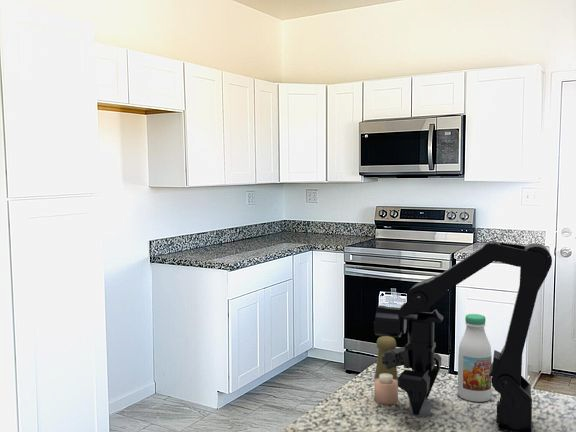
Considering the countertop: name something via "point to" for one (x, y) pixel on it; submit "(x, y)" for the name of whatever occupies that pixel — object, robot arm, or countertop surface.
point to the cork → (383, 345)
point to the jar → (386, 389)
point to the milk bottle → (474, 361)
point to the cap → (422, 409)
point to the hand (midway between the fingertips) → (420, 406)
